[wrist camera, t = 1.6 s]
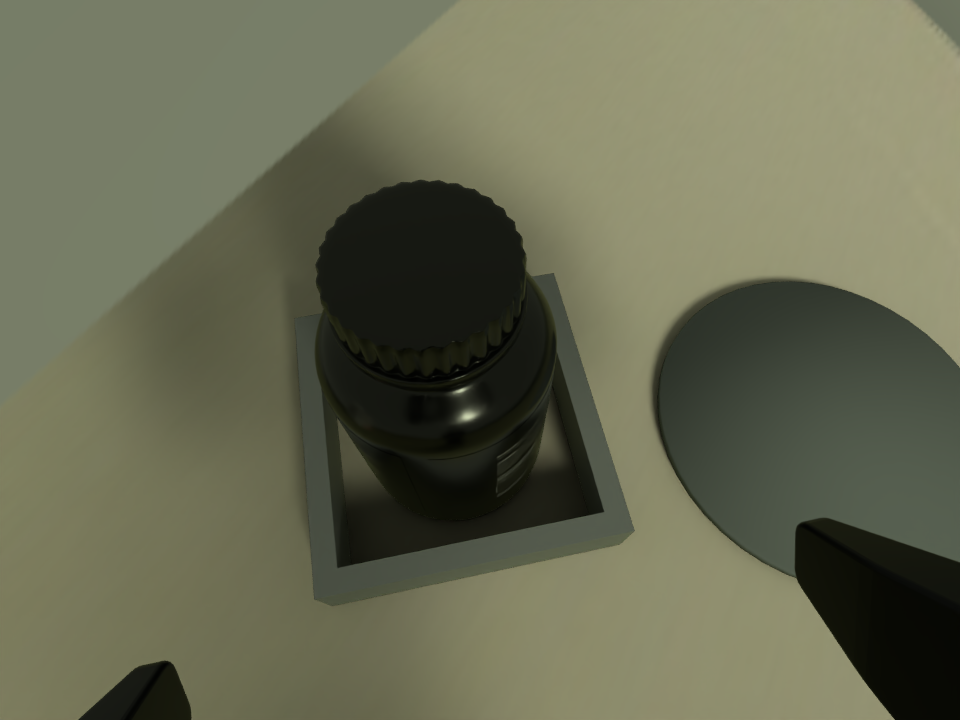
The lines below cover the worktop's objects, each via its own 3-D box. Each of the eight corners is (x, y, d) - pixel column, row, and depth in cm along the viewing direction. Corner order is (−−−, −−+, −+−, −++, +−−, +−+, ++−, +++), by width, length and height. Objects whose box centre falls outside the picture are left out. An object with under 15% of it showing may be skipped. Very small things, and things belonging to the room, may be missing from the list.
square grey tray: (619, 544, 22) (634, 530, 20) (332, 606, 21) (314, 599, 19) (548, 305, 27) (553, 273, 24) (311, 348, 26) (294, 318, 24)
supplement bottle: (498, 340, 26) (506, 114, 15) (567, 483, 23) (637, 328, 12) (346, 396, 25) (240, 194, 14) (399, 553, 22) (316, 450, 11)
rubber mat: (1038, 399, 24) (1046, 395, 24) (916, 676, 20) (924, 676, 20) (751, 239, 28) (754, 234, 28) (595, 441, 24) (597, 438, 23)
